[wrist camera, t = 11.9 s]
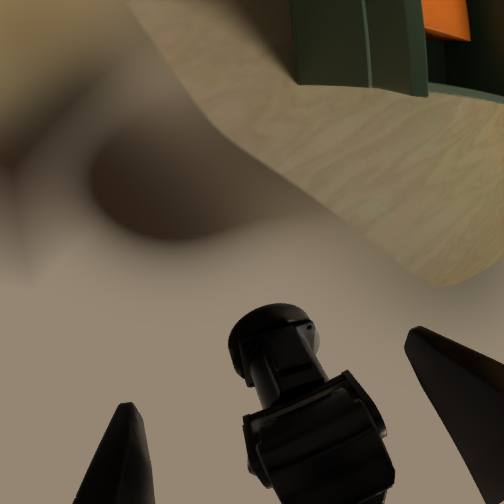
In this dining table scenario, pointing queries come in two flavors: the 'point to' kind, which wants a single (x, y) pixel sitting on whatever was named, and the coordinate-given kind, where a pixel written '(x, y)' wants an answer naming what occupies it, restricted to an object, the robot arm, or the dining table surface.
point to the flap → (398, 46)
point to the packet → (446, 20)
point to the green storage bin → (358, 49)
